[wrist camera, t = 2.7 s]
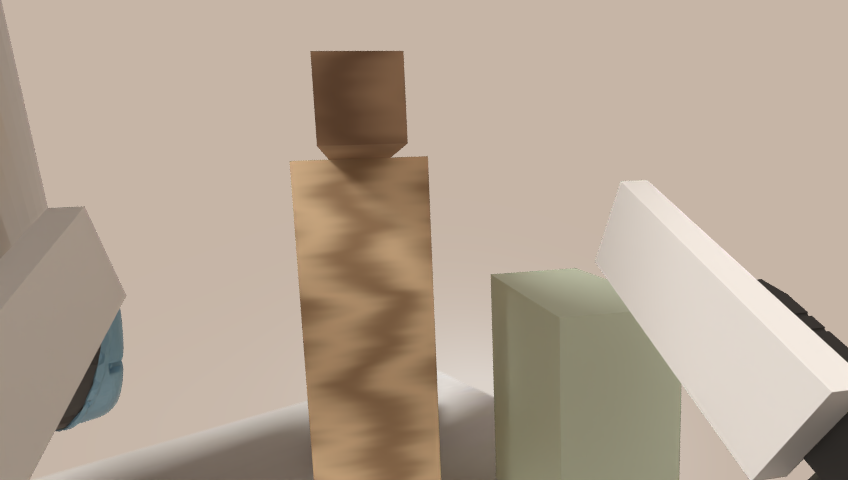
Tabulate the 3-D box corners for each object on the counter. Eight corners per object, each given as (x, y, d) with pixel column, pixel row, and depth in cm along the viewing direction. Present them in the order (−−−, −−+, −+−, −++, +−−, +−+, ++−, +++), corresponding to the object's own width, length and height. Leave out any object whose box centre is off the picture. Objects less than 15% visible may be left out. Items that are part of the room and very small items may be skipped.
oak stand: (321, 583, 33) (289, 161, 30) (330, 480, 45) (307, 168, 42) (444, 563, 35) (427, 156, 31) (421, 468, 46) (407, 165, 43)
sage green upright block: (562, 621, 30) (559, 317, 27) (496, 484, 43) (490, 274, 41) (676, 600, 31) (683, 307, 28) (576, 473, 45) (575, 268, 42)
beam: (305, 146, 20) (289, -75, 19) (331, 168, 44) (325, 70, 43) (418, 142, 21) (409, -70, 20) (384, 166, 45) (379, 70, 44)
